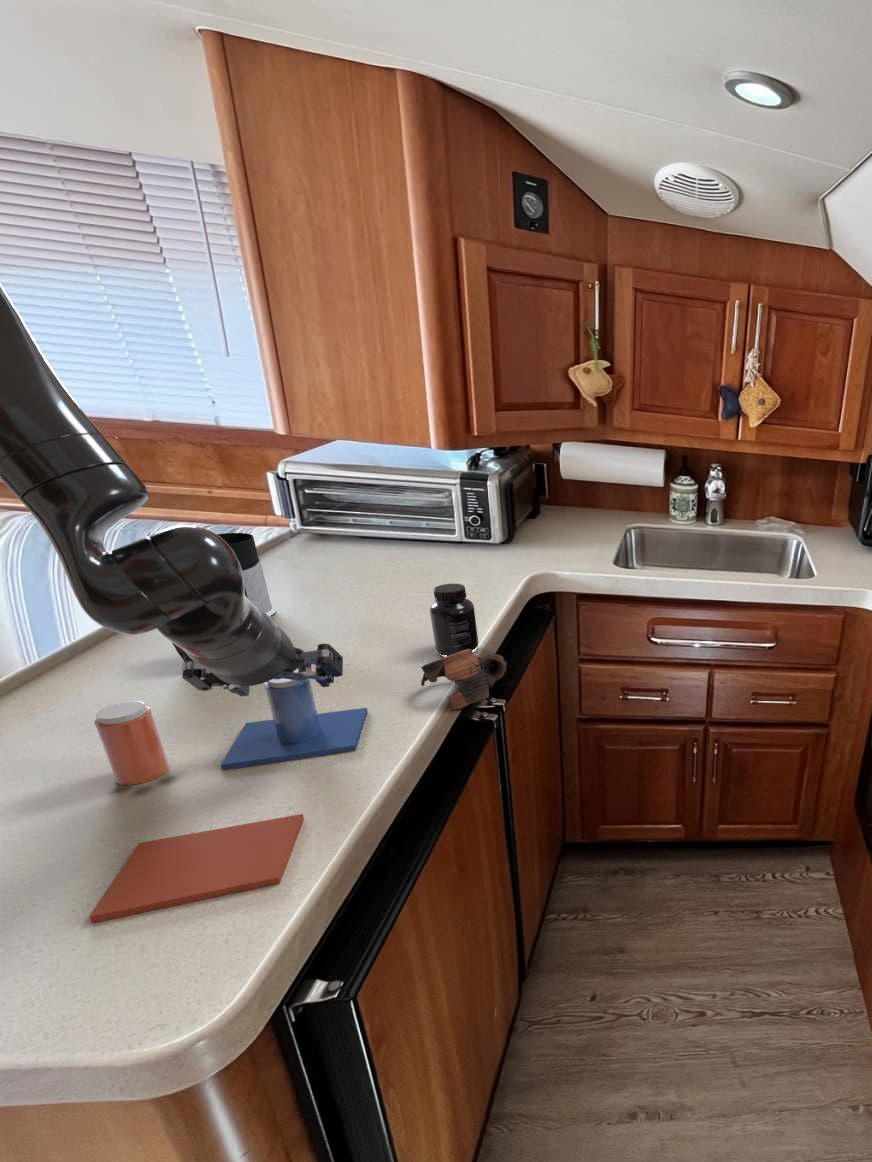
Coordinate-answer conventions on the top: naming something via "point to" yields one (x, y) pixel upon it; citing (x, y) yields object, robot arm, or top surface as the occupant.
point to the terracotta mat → (200, 867)
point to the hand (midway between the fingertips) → (287, 684)
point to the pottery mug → (466, 675)
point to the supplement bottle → (453, 620)
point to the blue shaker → (293, 709)
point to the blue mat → (265, 747)
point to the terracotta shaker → (131, 742)
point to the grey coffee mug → (250, 568)
